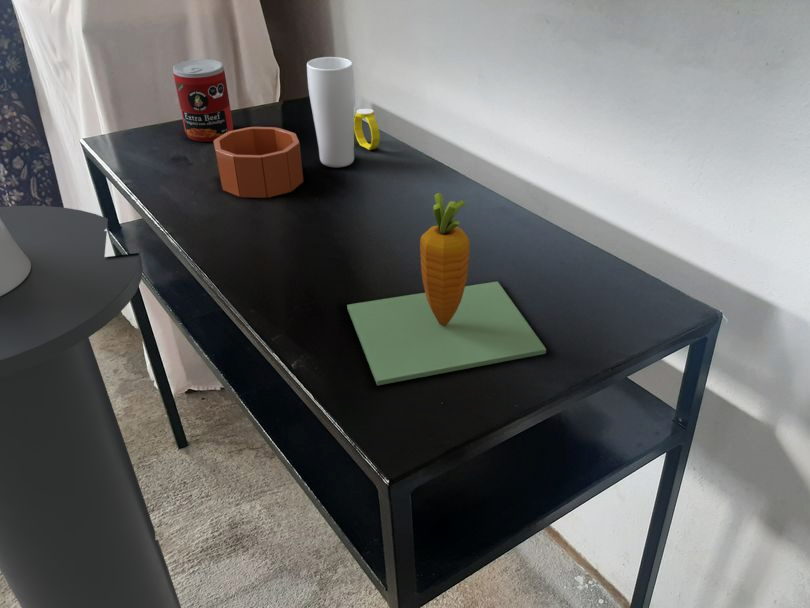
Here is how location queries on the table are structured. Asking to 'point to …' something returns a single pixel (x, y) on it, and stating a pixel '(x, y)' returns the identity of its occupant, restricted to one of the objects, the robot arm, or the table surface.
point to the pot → (259, 161)
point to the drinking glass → (333, 108)
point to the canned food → (203, 99)
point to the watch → (372, 124)
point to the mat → (441, 334)
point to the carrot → (444, 261)
